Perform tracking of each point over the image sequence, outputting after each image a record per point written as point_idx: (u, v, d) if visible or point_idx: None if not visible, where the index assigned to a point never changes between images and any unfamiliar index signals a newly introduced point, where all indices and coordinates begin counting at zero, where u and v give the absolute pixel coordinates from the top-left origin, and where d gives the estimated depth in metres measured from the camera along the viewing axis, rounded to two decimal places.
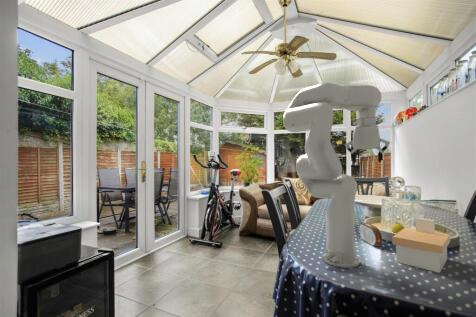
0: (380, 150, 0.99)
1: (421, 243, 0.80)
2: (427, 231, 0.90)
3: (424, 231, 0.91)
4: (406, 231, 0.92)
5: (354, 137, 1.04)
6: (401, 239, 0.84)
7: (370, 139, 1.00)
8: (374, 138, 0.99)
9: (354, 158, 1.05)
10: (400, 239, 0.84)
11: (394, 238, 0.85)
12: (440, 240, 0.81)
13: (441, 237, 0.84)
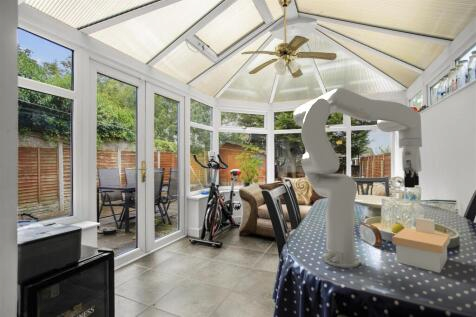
0: (417, 173, 0.98)
1: (421, 243, 0.80)
2: (427, 231, 0.90)
3: (424, 231, 0.91)
4: (406, 231, 0.92)
5: (416, 158, 0.91)
6: (401, 239, 0.84)
7: (420, 162, 0.95)
8: (420, 161, 0.96)
9: None
10: (400, 239, 0.84)
11: (394, 238, 0.85)
12: (440, 240, 0.81)
13: (441, 237, 0.84)
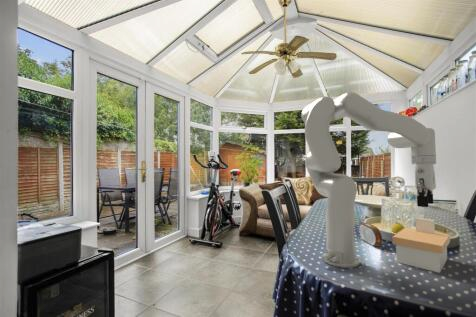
0: (431, 191, 0.94)
1: (421, 243, 0.80)
2: (427, 231, 0.90)
3: (424, 231, 0.91)
4: (406, 231, 0.92)
5: (430, 177, 0.87)
6: (401, 239, 0.84)
7: (434, 179, 0.91)
8: None
9: (427, 202, 0.87)
10: (400, 239, 0.84)
11: (394, 238, 0.85)
12: (440, 240, 0.81)
13: (441, 237, 0.84)
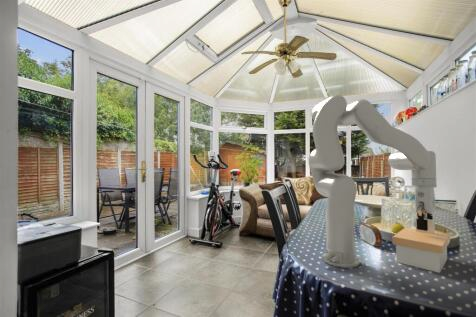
0: (431, 213, 0.94)
1: (421, 243, 0.80)
2: (427, 231, 0.90)
3: (424, 231, 0.91)
4: (406, 231, 0.92)
5: (430, 200, 0.87)
6: (401, 239, 0.84)
7: (434, 202, 0.91)
8: None
9: None
10: (400, 239, 0.84)
11: (394, 238, 0.85)
12: (440, 240, 0.81)
13: (441, 237, 0.84)
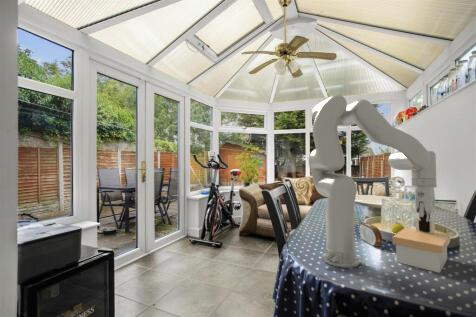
0: (429, 218, 0.91)
1: (421, 243, 0.80)
2: None
3: None
4: (406, 231, 0.92)
5: (430, 200, 0.87)
6: (401, 239, 0.84)
7: (434, 202, 0.91)
8: None
9: None
10: (400, 239, 0.84)
11: (394, 238, 0.85)
12: (440, 240, 0.81)
13: (441, 237, 0.84)
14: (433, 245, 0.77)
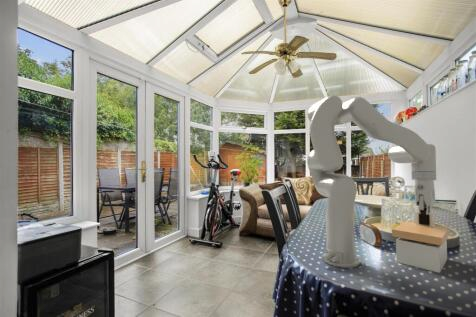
0: (429, 211, 0.91)
1: (421, 235, 0.80)
2: None
3: None
4: (406, 224, 0.92)
5: (430, 193, 0.87)
6: (401, 232, 0.84)
7: (434, 195, 0.91)
8: (434, 194, 0.92)
9: None
10: (400, 232, 0.84)
11: (394, 231, 0.85)
12: (440, 232, 0.81)
13: (441, 230, 0.84)
14: (433, 237, 0.77)
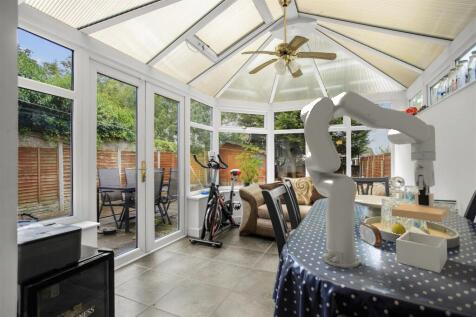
0: (429, 192, 0.92)
1: (420, 213, 0.80)
2: None
3: (423, 205, 0.91)
4: (405, 205, 0.92)
5: (429, 173, 0.87)
6: (400, 211, 0.84)
7: (433, 176, 0.91)
8: None
9: (428, 200, 0.90)
10: (399, 211, 0.84)
11: (393, 210, 0.86)
12: (439, 211, 0.81)
13: (440, 209, 0.85)
14: (432, 214, 0.78)
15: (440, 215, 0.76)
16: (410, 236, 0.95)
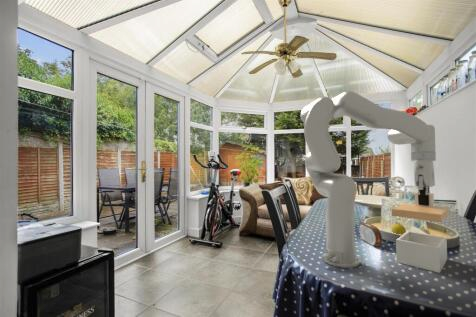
0: (429, 192, 0.92)
1: (420, 213, 0.80)
2: None
3: (423, 205, 0.91)
4: (405, 205, 0.92)
5: (429, 173, 0.87)
6: (400, 211, 0.84)
7: (433, 176, 0.91)
8: None
9: (428, 200, 0.90)
10: (399, 211, 0.84)
11: (393, 210, 0.86)
12: (439, 211, 0.81)
13: (440, 209, 0.85)
14: (432, 214, 0.78)
15: (440, 215, 0.76)
16: (410, 236, 0.95)
